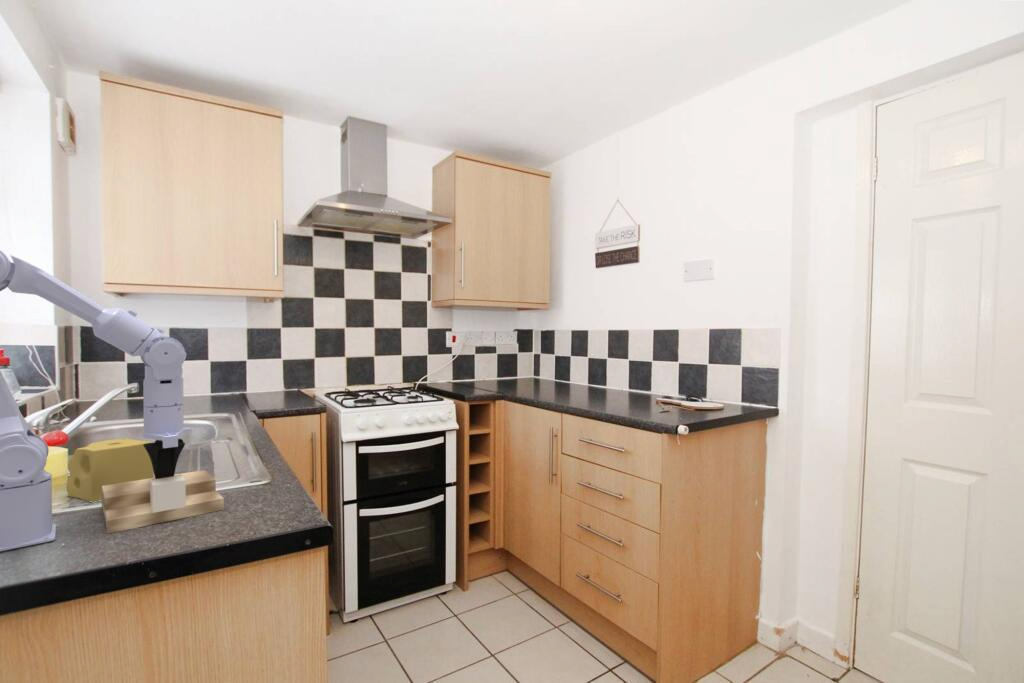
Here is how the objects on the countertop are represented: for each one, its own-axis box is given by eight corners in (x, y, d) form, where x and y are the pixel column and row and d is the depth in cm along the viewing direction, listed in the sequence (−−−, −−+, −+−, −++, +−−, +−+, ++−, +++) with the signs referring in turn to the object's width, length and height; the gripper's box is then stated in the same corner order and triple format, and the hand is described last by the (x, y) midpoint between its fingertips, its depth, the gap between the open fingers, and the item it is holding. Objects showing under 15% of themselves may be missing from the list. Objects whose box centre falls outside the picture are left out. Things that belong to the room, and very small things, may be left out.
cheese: (66, 497, 96) (65, 445, 96) (129, 482, 106) (129, 436, 106) (91, 504, 91) (91, 450, 91) (156, 489, 101) (155, 440, 101)
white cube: (150, 506, 84) (152, 512, 80) (150, 479, 84) (152, 485, 80) (182, 500, 87) (185, 506, 83) (181, 474, 87) (185, 480, 83)
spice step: (107, 533, 77) (107, 508, 77) (102, 508, 89) (101, 485, 89) (223, 509, 87) (223, 487, 87) (204, 489, 100) (204, 469, 100)
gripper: (198, 406, 84) (199, 486, 83) (183, 400, 94) (184, 471, 94) (147, 410, 79) (148, 495, 79) (137, 403, 90) (138, 478, 89)
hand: (164, 483), depth 86 cm, fingers closed
